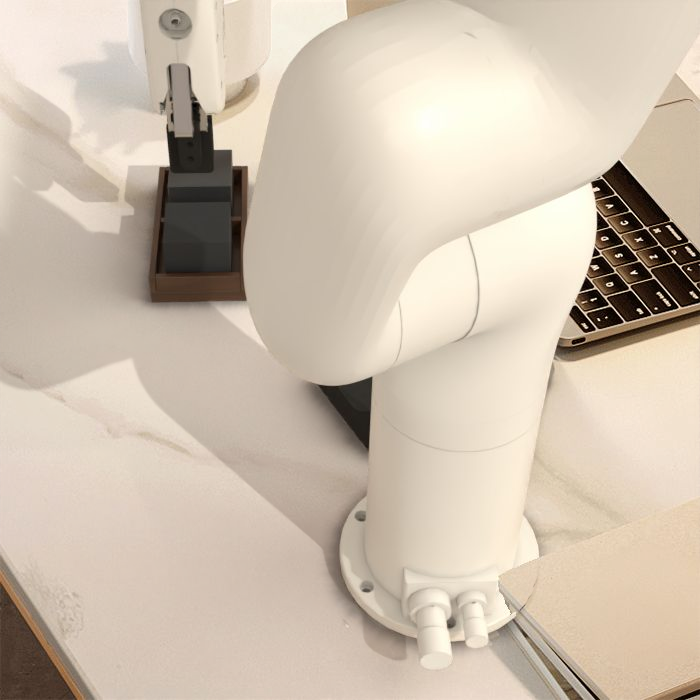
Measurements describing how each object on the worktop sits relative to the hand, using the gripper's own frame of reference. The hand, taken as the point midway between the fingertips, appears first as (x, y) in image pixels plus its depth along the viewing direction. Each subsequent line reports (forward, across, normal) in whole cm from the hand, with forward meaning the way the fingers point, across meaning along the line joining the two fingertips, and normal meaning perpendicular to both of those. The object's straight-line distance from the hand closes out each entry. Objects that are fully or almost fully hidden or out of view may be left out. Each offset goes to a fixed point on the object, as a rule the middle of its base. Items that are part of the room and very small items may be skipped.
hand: (192, 166), depth 94 cm
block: (+9, 0, 0) cm, 9 cm away
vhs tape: (+10, -13, -17) cm, 24 cm away
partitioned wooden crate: (+10, +3, 0) cm, 11 cm away
